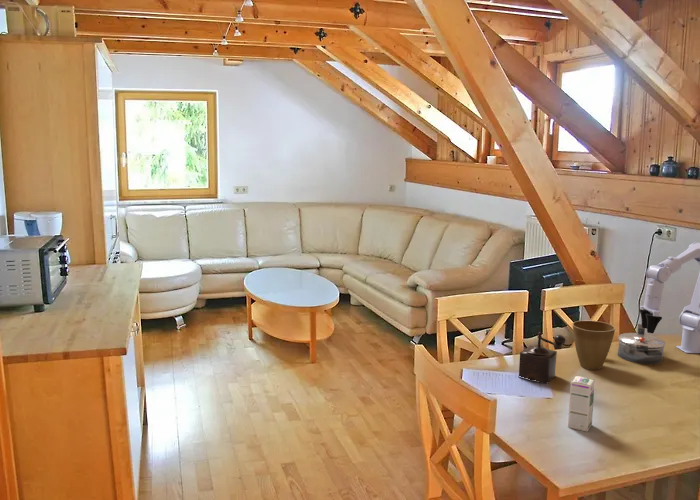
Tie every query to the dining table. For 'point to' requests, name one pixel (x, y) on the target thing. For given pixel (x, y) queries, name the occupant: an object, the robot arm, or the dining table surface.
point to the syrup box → (581, 403)
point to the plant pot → (592, 342)
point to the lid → (641, 340)
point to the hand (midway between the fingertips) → (647, 330)
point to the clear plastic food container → (640, 354)
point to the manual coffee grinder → (540, 360)
